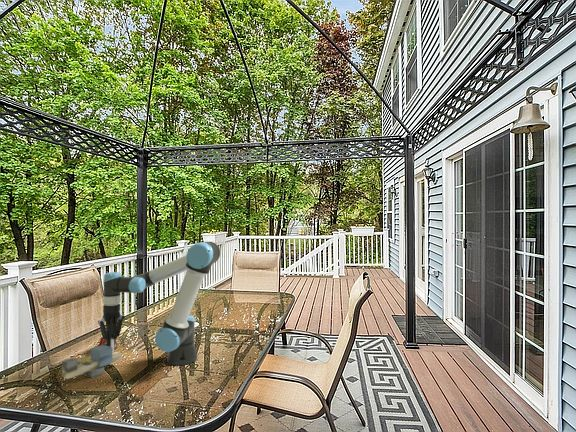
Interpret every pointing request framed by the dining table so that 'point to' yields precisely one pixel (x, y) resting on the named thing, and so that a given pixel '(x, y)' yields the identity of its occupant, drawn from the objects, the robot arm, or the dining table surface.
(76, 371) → the beam
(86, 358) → the rock
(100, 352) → the grey block
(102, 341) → the toy fire truck
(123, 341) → the dining table surface
